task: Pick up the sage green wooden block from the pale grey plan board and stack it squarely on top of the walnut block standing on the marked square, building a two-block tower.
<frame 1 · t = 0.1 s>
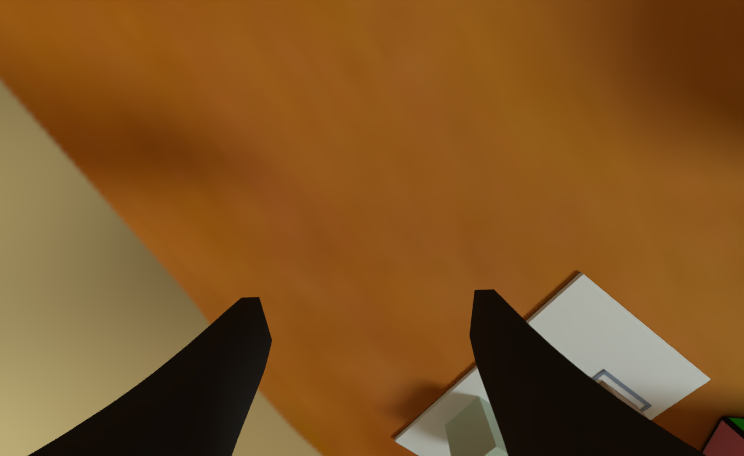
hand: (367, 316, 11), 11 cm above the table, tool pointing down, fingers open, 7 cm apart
plan board: (541, 409, 25), on the table
sage block: (479, 423, 26), resting on plan board
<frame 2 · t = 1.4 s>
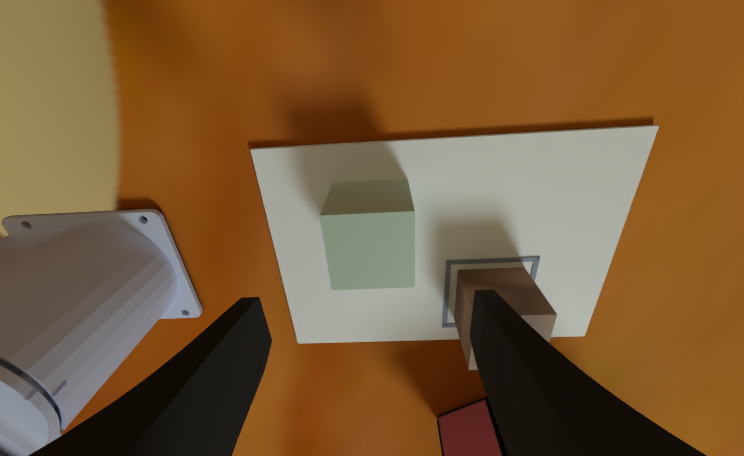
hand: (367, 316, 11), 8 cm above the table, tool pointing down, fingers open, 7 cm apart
puzzle cube: (513, 421, 27), on the table
walnut block: (487, 294, 20), resting on plan board
plan board: (441, 253, 19), on the table
sage block: (372, 214, 18), resting on plan board
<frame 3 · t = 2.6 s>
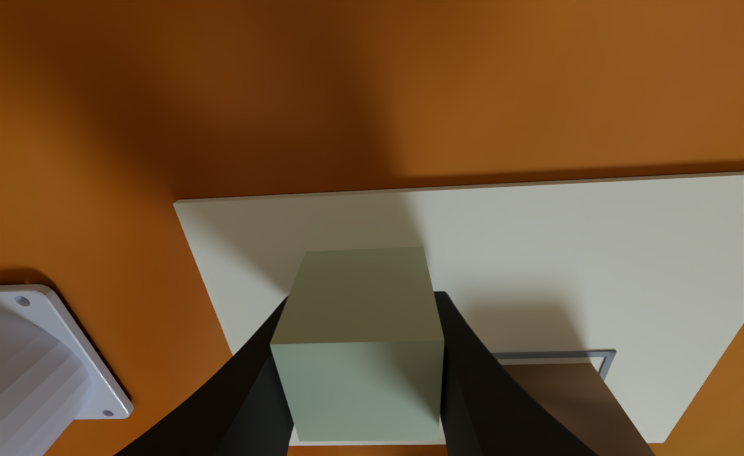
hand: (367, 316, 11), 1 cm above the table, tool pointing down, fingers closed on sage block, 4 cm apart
walnut block: (533, 394, 14), resting on plan board
plan board: (469, 343, 13), on the table
sage block: (368, 294, 12), resting on plan board, touching gripper
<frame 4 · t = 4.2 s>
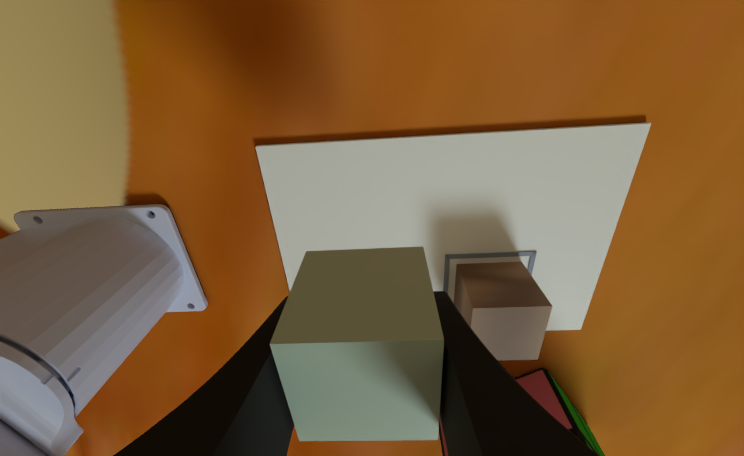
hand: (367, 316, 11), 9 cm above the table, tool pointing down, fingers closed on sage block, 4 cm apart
puzzle cube: (511, 415, 28), on the table
walnut block: (485, 288, 21), resting on plan board
plan board: (440, 248, 20), on the table
sage block: (368, 294, 12), point 8 cm above the table, touching gripper
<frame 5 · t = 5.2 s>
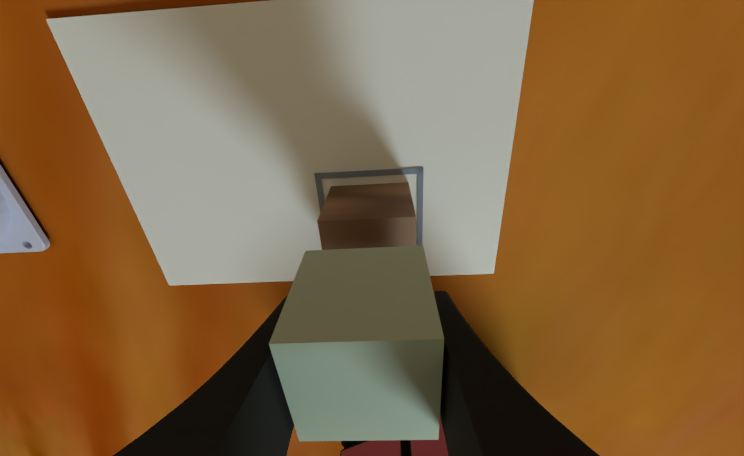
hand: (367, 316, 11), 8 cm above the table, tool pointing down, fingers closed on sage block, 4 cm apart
puzzle cube: (435, 384, 25), on the table
walnut block: (371, 218, 17), resting on plan board
plan board: (310, 166, 16), on the table
sage block: (367, 294, 12), point 7 cm above the table, touching gripper
when the fingers open (6 cm above the table, at t = 5.9 s): sage block stays where it is, resting on walnut block.
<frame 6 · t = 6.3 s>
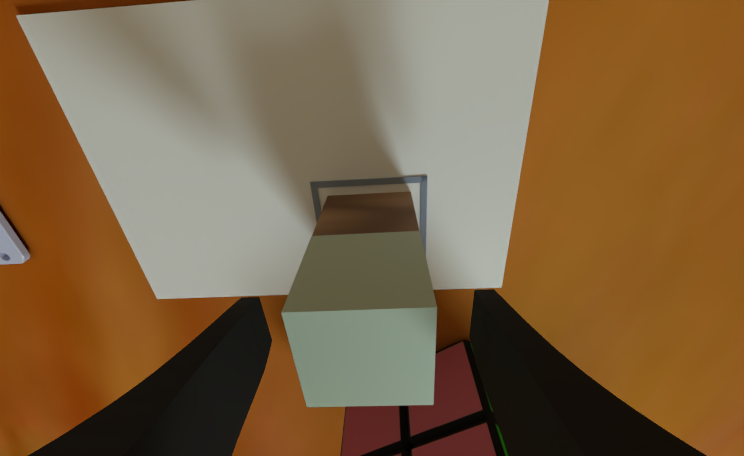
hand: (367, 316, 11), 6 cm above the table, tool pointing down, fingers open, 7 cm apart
puzzle cube: (438, 400, 23), on the table
walnut block: (371, 230, 16), resting on plan board, touching sage block
plan board: (305, 174, 15), on the table
sage block: (369, 277, 12), point 4 cm above the table, touching walnut block
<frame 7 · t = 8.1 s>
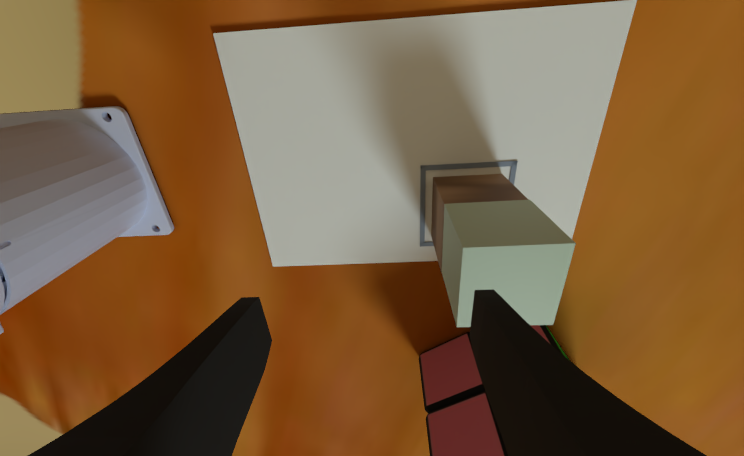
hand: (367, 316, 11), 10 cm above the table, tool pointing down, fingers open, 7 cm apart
puzzle cube: (497, 361, 27), on the table
walnut block: (464, 206, 19), resting on plan board, touching sage block
plan board: (415, 160, 18), on the table
sage block: (482, 238, 16), point 4 cm above the table, touching walnut block
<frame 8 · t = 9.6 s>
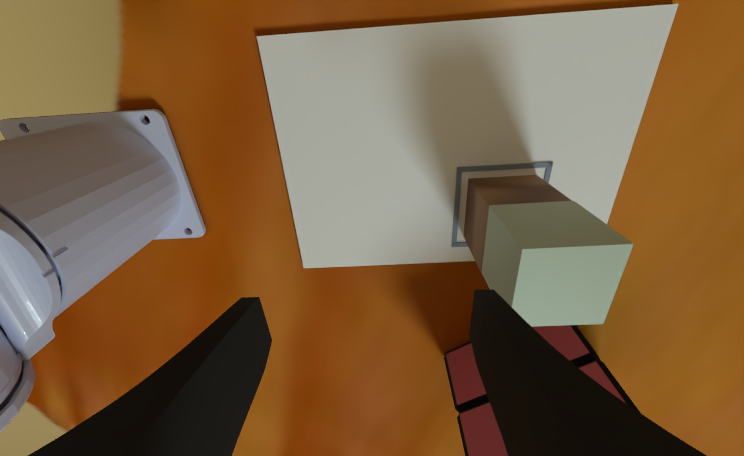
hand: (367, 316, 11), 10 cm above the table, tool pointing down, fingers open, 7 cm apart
puzzle cube: (521, 360, 27), on the table
walnut block: (498, 207, 20), resting on plan board, touching sage block
plan board: (451, 161, 19), on the table
sage block: (524, 238, 16), point 4 cm above the table, touching walnut block
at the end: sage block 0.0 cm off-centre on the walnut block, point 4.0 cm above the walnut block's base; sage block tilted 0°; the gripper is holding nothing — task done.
